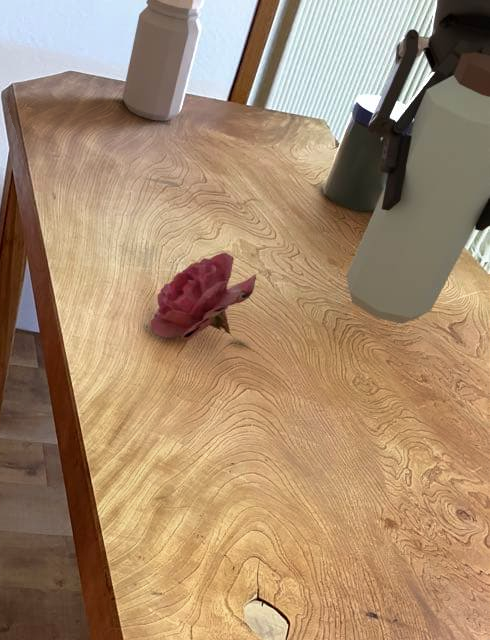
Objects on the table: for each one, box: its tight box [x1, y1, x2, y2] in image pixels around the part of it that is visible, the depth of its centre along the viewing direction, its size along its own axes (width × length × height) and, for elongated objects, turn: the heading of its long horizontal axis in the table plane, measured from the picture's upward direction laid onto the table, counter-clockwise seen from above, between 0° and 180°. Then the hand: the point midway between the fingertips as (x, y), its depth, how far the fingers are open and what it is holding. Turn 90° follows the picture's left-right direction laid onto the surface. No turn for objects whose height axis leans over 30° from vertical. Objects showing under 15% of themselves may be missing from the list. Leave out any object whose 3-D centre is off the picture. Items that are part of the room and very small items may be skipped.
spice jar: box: [322, 112, 403, 212], centre depth 131 cm, size 9×9×13 cm
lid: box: [350, 94, 414, 135], centre depth 126 cm, size 9×9×2 cm
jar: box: [122, 0, 205, 122], centre depth 139 cm, size 10×10×18 cm
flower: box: [150, 252, 257, 346], centre depth 96 cm, size 11×10×10 cm
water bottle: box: [345, 52, 490, 325], centre depth 91 cm, size 10×10×25 cm
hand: (438, 215), depth 90 cm, fingers closed on water bottle, 9 cm apart
